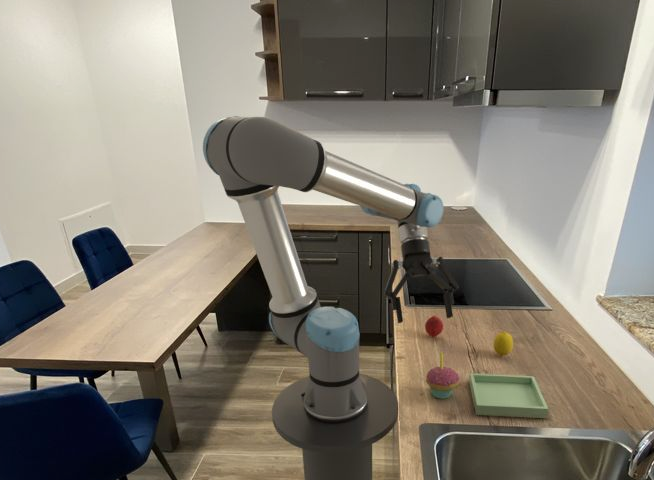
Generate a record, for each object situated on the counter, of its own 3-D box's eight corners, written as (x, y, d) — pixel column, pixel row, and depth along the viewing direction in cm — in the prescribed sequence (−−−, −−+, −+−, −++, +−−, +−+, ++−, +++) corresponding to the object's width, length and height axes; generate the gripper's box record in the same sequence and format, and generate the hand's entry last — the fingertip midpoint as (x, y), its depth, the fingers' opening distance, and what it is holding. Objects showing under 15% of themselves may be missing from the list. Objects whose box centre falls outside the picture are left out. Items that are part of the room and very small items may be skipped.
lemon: (493, 359, 131) (496, 335, 128) (491, 351, 136) (494, 327, 133) (512, 360, 130) (516, 336, 127) (509, 352, 135) (512, 328, 132)
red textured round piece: (443, 340, 142) (445, 318, 139) (425, 341, 142) (427, 318, 139) (440, 332, 148) (442, 310, 144) (423, 333, 147) (424, 311, 144)
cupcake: (419, 388, 117) (421, 348, 112) (448, 382, 120) (451, 342, 115) (434, 406, 110) (437, 364, 105) (464, 399, 112) (468, 358, 107)
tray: (475, 414, 106) (476, 405, 105) (469, 382, 120) (470, 373, 119) (546, 418, 105) (548, 408, 104) (532, 385, 118) (533, 376, 117)
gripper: (371, 240, 113) (382, 322, 110) (463, 234, 118) (475, 313, 115) (366, 249, 121) (376, 326, 118) (453, 243, 125) (464, 317, 122)
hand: (425, 320), depth 116 cm, fingers open, 13 cm apart
